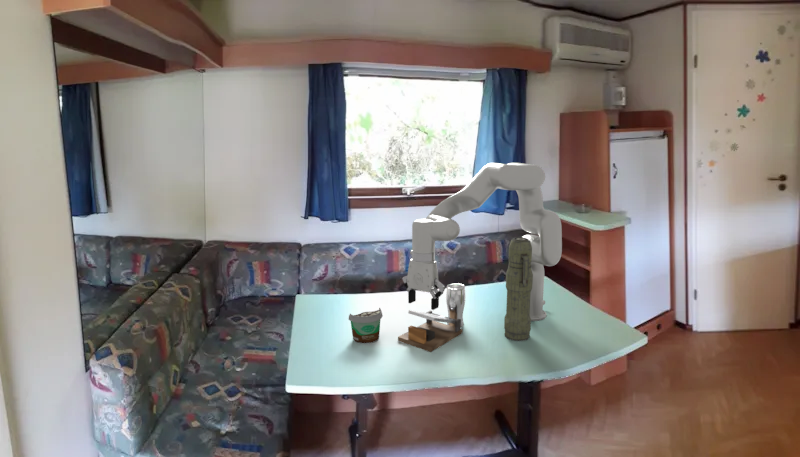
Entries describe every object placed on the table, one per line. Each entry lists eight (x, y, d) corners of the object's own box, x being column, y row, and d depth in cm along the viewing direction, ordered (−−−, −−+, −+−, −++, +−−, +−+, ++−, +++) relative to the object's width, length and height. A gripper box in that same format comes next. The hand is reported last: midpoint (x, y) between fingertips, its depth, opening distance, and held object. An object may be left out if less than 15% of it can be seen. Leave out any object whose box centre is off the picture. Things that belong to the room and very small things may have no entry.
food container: (356, 347, 169) (355, 319, 167) (349, 341, 174) (348, 313, 172) (389, 340, 175) (388, 313, 172) (381, 333, 180) (380, 307, 178)
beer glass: (464, 329, 183) (464, 289, 179) (445, 328, 184) (445, 288, 181) (465, 321, 189) (466, 283, 186) (447, 320, 191) (447, 282, 187)
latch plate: (430, 323, 188) (430, 308, 187) (462, 333, 179) (462, 318, 178) (398, 340, 174) (397, 325, 173) (430, 352, 165) (430, 335, 164)
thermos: (520, 327, 183) (524, 234, 176) (536, 341, 172) (541, 241, 164) (498, 330, 181) (500, 235, 174) (512, 344, 170) (516, 243, 162)
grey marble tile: (431, 317, 185) (432, 312, 185) (456, 324, 178) (457, 320, 178) (407, 314, 174) (409, 309, 174) (433, 321, 167) (434, 317, 167)
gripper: (396, 254, 170) (396, 302, 173) (438, 263, 159) (437, 314, 162) (410, 250, 175) (410, 296, 179) (451, 258, 164) (450, 308, 168)
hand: (423, 305), depth 171 cm, fingers open, 9 cm apart
